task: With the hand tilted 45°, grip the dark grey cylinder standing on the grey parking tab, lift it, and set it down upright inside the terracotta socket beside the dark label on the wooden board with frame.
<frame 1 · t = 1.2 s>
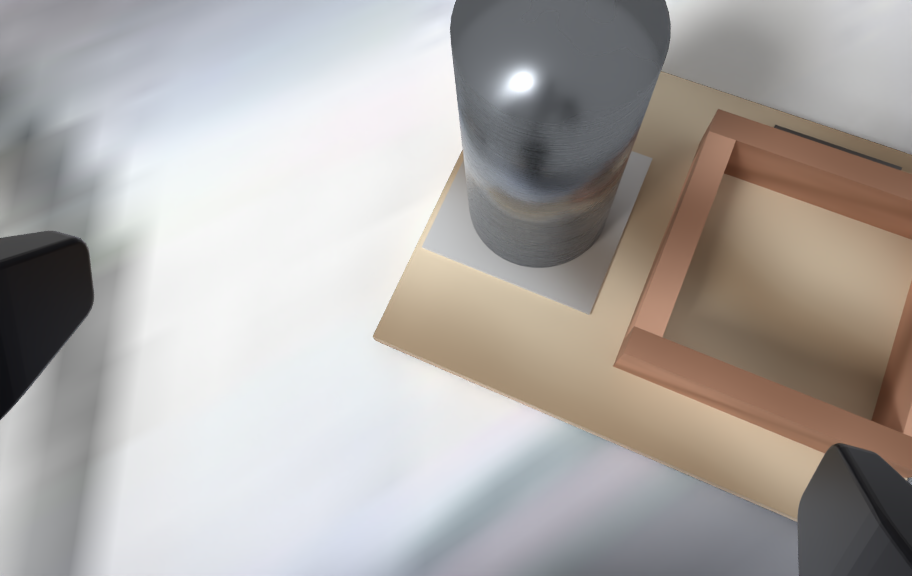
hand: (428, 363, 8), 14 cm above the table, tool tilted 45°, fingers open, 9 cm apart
dark grey cylinder: (538, 202, 23), point 1 cm above the table, touching wooden board with frame
wooden board with frame: (677, 264, 23), on the table
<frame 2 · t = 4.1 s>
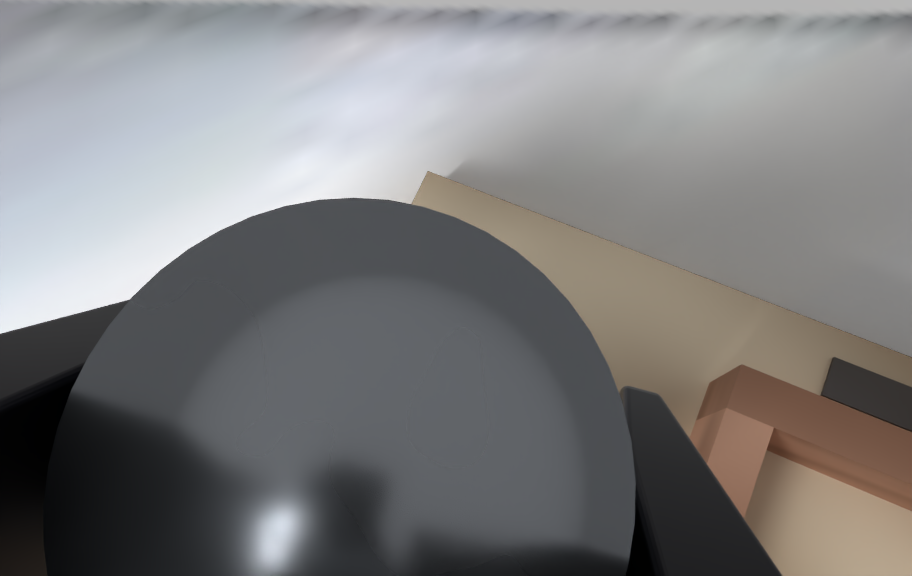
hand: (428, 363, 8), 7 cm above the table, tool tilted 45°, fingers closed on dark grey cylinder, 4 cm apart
dark grey cylinder: (438, 489, 14), point 1 cm above the table, touching gripper, wooden board with frame
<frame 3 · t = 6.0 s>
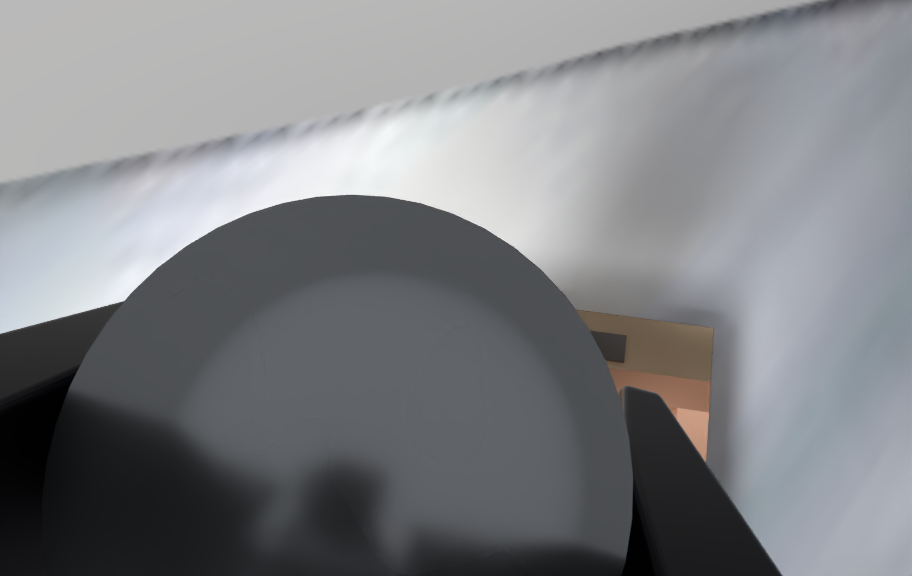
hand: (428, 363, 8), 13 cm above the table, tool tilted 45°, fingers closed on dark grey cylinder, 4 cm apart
dark grey cylinder: (437, 488, 14), point 8 cm above the table, touching gripper
wooden board with frame: (424, 495, 21), on the table
when the fingers open (7 cm above the table, at t = 8.1 s): dark grey cylinder stays where it is, resting on wooden board with frame.
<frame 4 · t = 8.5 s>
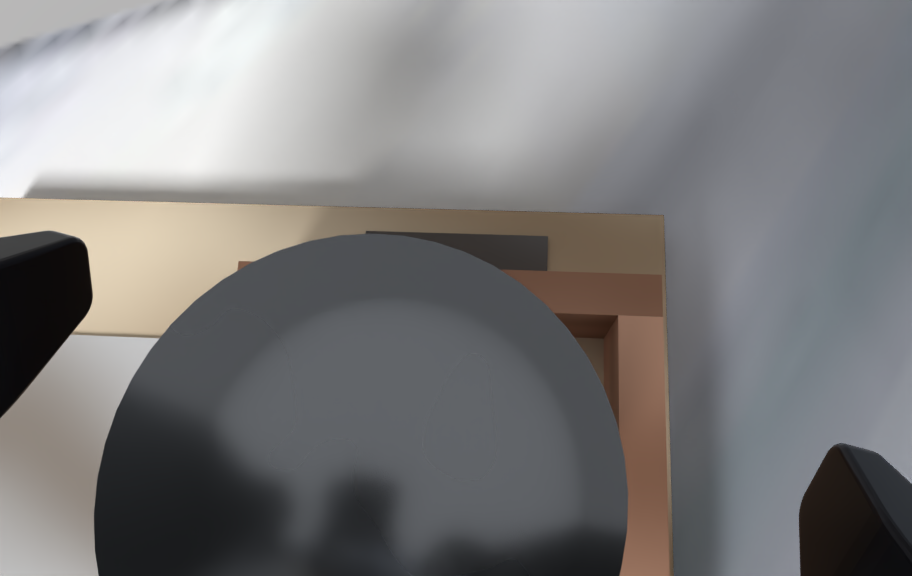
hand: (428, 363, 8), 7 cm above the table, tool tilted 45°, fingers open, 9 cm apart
dark grey cylinder: (439, 490, 14), point 1 cm above the table, touching wooden board with frame
wooden board with frame: (290, 481, 15), on the table
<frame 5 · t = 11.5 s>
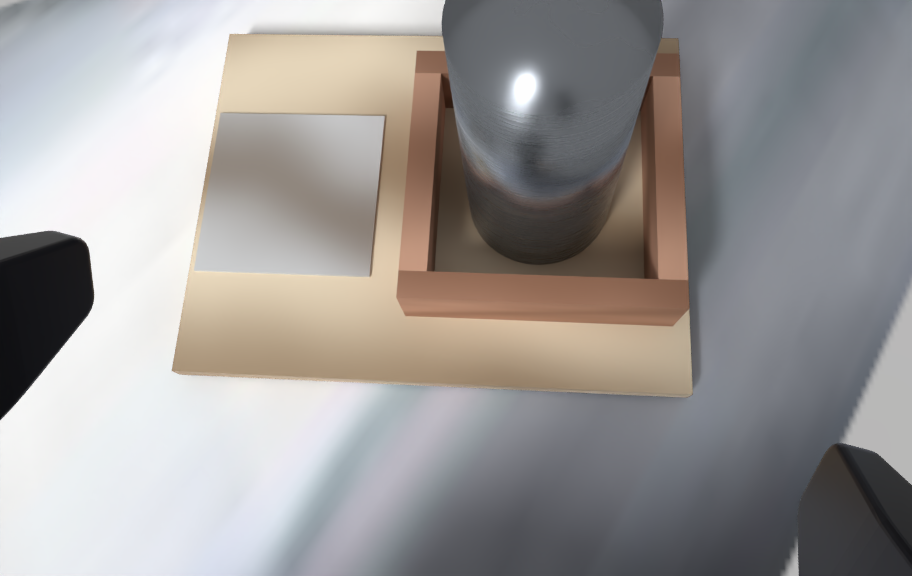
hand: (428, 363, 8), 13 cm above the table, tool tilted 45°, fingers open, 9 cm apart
dark grey cylinder: (538, 199, 23), point 1 cm above the table, touching wooden board with frame
wooden board with frame: (439, 203, 24), on the table
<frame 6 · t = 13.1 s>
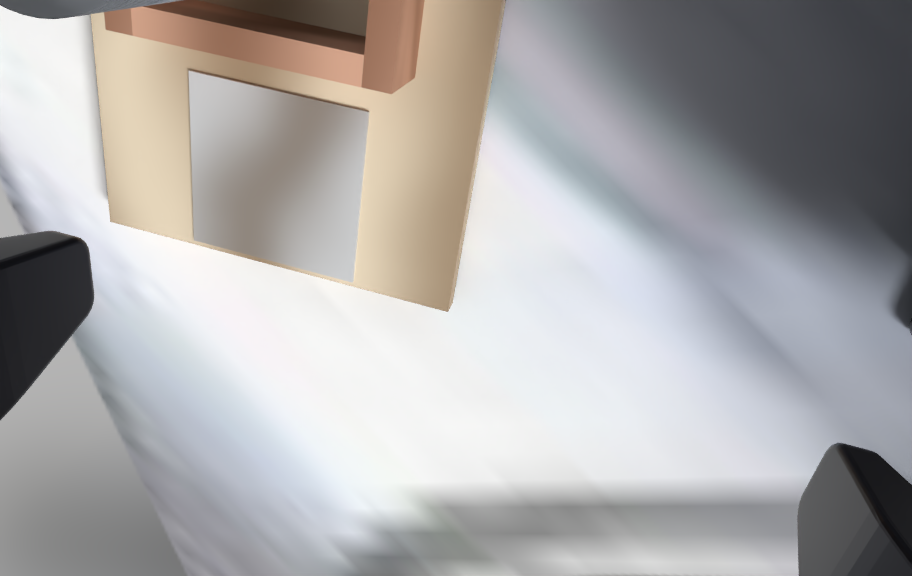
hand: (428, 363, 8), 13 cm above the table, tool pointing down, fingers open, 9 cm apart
wooden board with frame: (290, 17, 20), on the table
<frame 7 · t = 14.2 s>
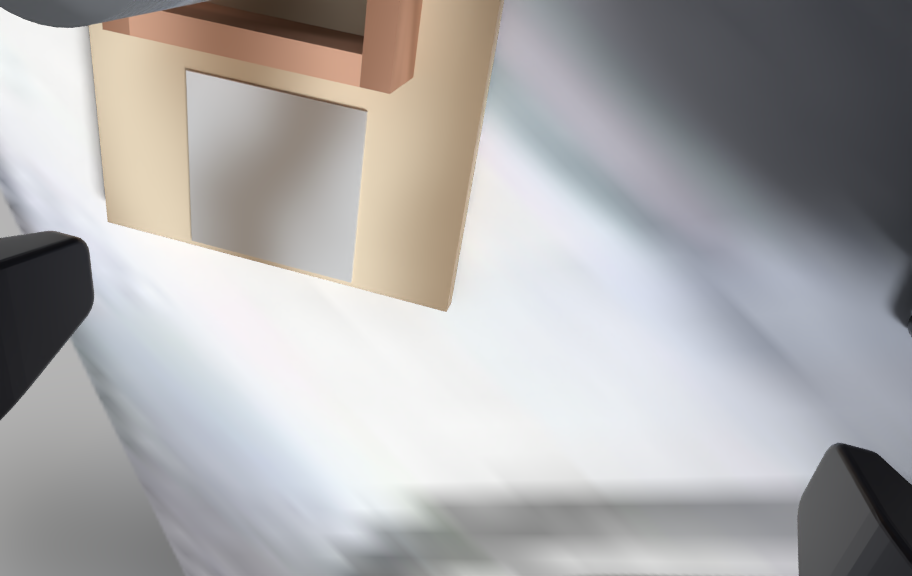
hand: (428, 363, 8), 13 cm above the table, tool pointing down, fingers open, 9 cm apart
wooden board with frame: (287, 16, 20), on the table
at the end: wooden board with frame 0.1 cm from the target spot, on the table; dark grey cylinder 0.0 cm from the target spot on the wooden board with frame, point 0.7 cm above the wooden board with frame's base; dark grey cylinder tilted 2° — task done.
